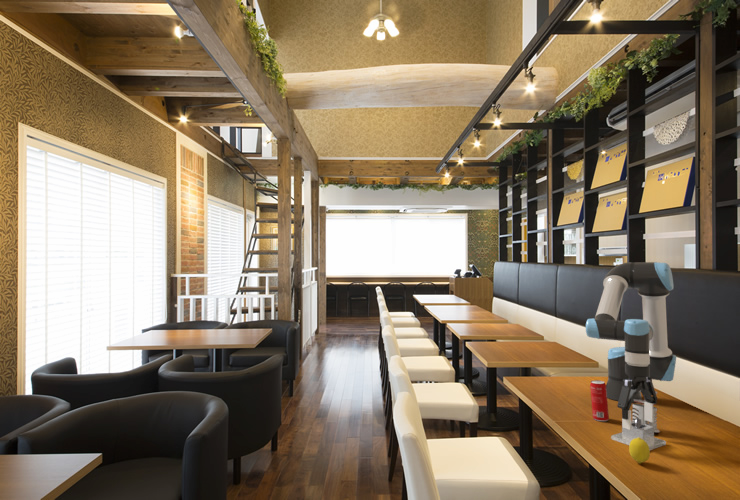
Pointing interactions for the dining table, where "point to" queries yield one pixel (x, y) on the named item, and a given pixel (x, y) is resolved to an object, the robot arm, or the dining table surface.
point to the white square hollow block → (639, 432)
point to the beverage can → (599, 400)
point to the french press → (640, 414)
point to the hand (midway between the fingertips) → (638, 424)
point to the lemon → (639, 450)
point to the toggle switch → (619, 438)
